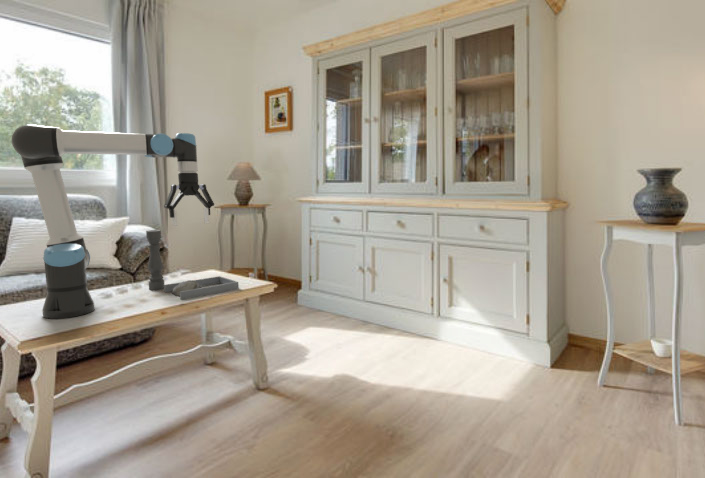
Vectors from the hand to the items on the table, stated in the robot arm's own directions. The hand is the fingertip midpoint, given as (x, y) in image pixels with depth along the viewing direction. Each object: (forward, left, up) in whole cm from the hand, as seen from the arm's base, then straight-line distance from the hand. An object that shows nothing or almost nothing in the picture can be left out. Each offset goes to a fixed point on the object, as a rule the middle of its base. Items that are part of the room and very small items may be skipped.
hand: (191, 224), depth 178 cm
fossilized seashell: (-4, -3, -28) cm, 29 cm away
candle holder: (-10, +15, -28) cm, 33 cm away
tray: (+2, -2, -28) cm, 28 cm away
